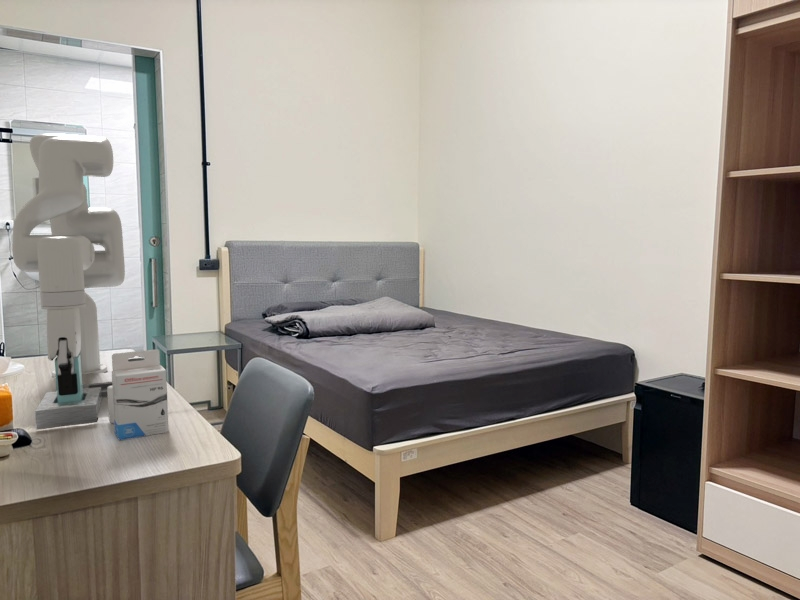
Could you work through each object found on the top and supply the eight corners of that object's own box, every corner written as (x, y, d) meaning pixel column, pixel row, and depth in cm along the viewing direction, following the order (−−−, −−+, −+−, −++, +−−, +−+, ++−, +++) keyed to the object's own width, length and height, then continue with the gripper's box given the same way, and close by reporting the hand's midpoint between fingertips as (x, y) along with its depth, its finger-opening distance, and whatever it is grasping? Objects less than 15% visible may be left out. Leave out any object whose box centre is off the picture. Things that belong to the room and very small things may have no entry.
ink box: (118, 441, 102) (113, 358, 100) (114, 433, 106) (109, 353, 104) (170, 432, 106) (165, 352, 105) (164, 424, 110) (160, 348, 109)
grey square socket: (83, 393, 132) (82, 384, 132) (126, 388, 136) (126, 380, 136) (78, 403, 124) (78, 394, 124) (125, 398, 128) (125, 389, 128)
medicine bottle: (164, 418, 114) (161, 358, 113) (131, 429, 108) (128, 365, 107) (141, 412, 118) (138, 354, 116) (108, 422, 112) (104, 361, 110)
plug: (61, 405, 117) (57, 354, 116) (83, 402, 119) (80, 353, 118) (58, 410, 114) (54, 358, 112) (81, 408, 115) (78, 357, 114)
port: (48, 408, 121) (46, 391, 120) (102, 402, 125) (100, 386, 124) (36, 429, 108) (35, 410, 108) (97, 422, 112) (95, 403, 112)
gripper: (47, 296, 120) (54, 383, 122) (33, 305, 105) (41, 405, 107) (88, 294, 123) (94, 379, 125) (80, 303, 108) (87, 400, 110)
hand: (69, 390), depth 116 cm, fingers closed on plug, 4 cm apart
